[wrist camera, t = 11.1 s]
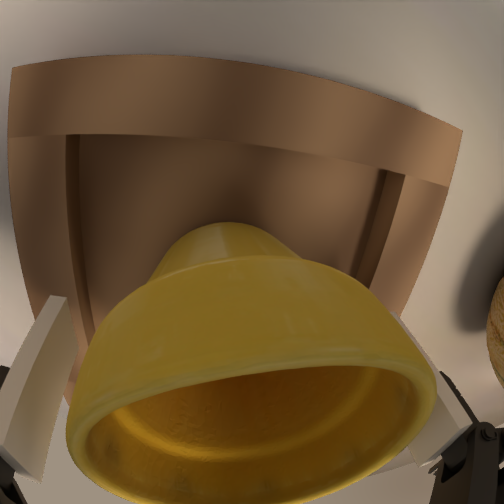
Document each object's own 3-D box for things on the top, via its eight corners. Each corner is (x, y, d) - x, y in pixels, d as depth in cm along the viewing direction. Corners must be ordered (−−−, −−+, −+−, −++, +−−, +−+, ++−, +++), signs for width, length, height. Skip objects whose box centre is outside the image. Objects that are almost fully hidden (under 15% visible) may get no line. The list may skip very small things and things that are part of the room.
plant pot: (337, 327, 18) (408, 468, 9) (173, 373, 18) (172, 524, 9) (311, 153, 13) (485, 265, 4) (89, 223, 13) (-22, 396, 4)
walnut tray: (426, 122, 14) (462, 130, 11) (334, 382, 23) (346, 411, 20) (44, 70, 10) (12, 67, 7) (77, 374, 19) (68, 405, 16)
